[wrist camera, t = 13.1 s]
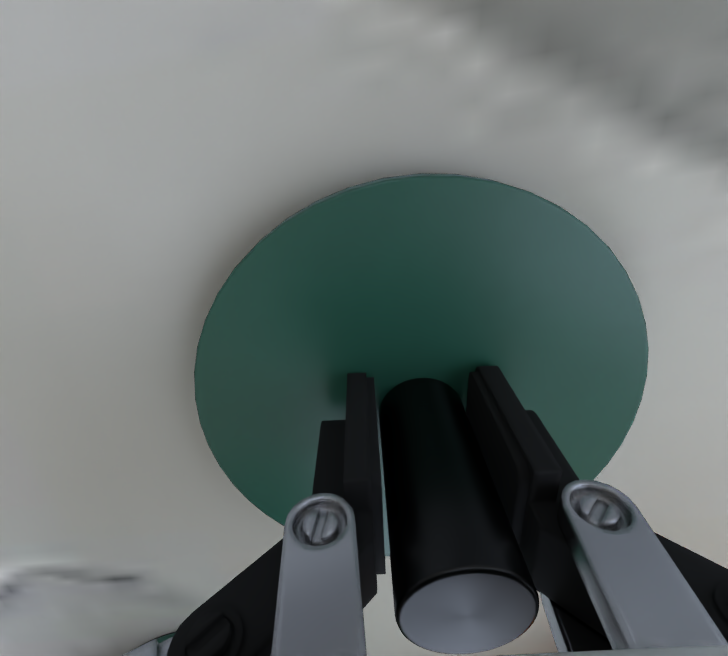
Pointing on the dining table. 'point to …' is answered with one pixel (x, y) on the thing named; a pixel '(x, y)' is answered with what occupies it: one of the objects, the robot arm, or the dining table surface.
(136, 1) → the dining table surface
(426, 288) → the green disc with handle
